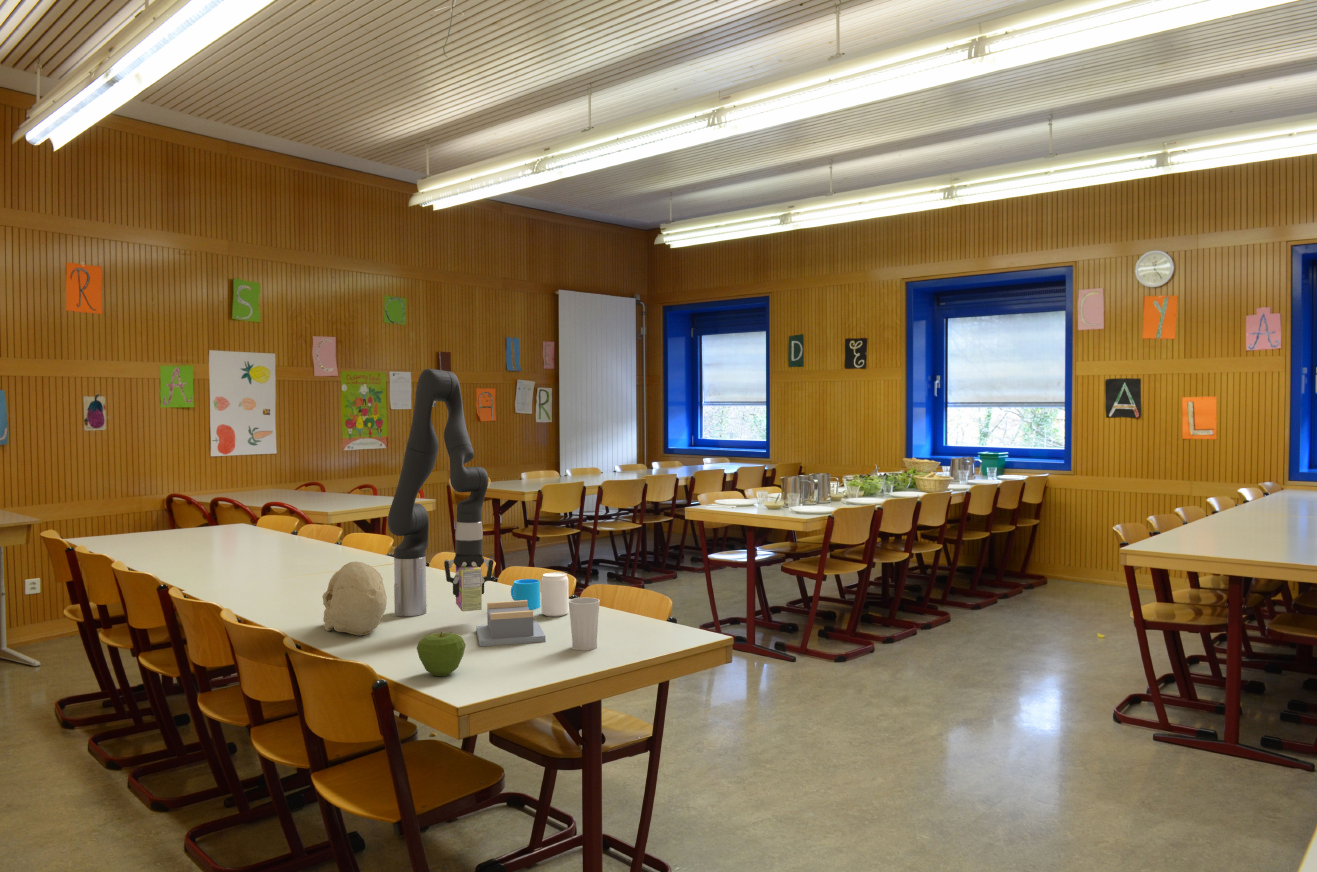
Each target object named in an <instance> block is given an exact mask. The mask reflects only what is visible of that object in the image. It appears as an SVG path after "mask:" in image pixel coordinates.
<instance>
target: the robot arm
mask: <svg viewBox="0 0 1317 872" xmlns="http://www.w3.org/2000/svg"><path fill="white" fill-rule="evenodd" d="M434 402H444V404H445V406H446V409H447V412H448V416H447V421H446V425H445V427H444V431H443V439H444V444H445V447H446V448H445V449H446V451H447V454H448V457H449V469H450V470H449V474H450V475H449V480H450V481H449V482H450V485H451V487H452V488H453V489H452V490H454V491H455V492H456V493H469V496H468V497H467V498H466V499H463V500H460V501H459V502H458V503H457V504H456V524H455V533H454V536H455V542H454V543H455V544H454V545H455V551H454V553H455V556H454V558H453V559H445V560H444V561H443V563H444V564H443V565H444V571H445V578H446V579H445V581H446V582H448V583H452V595H453V596H455V598H456V597H458V583H457V582H458V580H459V571H457V572H456V571H455V575H454V576H451V570H450V569H451V568H452V567H453V564H454V565H455V567H456V566H457V568H458V569H459V567H460V568H462V567H480V568H481V567H482V566H483V564H485V566H486V568H487V569H486V570H487V571H486V575H485V576H483V574H482V595H484V593H485V583H486V582H488V581H489V582H490V581H491V579H492V575H493V574H492V573H493V567H494V560H493V558H489V559H488V558H484V556H483V547H484V546H483V541H484V540H483V539H484V538H483V536H484V533H483V531H484V530H483V518H482V517H483V505H484V502H485V497H486V494H487V490H488V486H489V481H490V480H489V474H488V472H487V470H486V469H485V468H484V467H483V466H482V467H481V466H468V467H467V466H466V467H465V464H467V463H469V462H471V461H472V460H473V459H474V457H475V451H474V448H473V445H472V441H471V439H470V438H471V437H470V435H469V433H468V429H467V425H466V417H465V411H464V404H463V403H464V402H463V397H462V390H461V385H460V381H459V377H458V376H457V375H456V374H455V373H454V372H453V371H449V370H443V369H435V368H426V369H424V370H422V371H421V373H420V374H419V377H418V380H417V384H416V390H415V399H414V404H413V405H414V407H413V414H412V419H411V420H412V421H411V425H410V429H409V435H408V439H407V443H406V447H405V451H404V456H403V462H402V467H401V470H400V473H399V474H400V475H399V479H398V483H397V486H396V490H395V494H394V496H393V499H392V503H391V505H390V508H389V510H388V515H387V526H388V529H389V532H390V533H392V534H393V535H394V536H397V537H403V538H402V541H401V542H400V543H399V544H398V545H397V546H396V547H395V548H394V549H393V550H394V551H393V558H394V559H393V562H394V563H393V565H394V567H393V570H394V573H393V574H394V578H393V579H394V585H393V591H394V592H393V593H394V596H393V598H394V600H393V601H394V616H395V617H415V616H421V615H425V614H426V613H427V605H428V604H427V566H426V563H427V561H426V558H427V557H426V555H427V554H426V552H427V549H428V547H429V546H428V545H429V534H430V533H429V531H430V529H429V527H430V524H429V523H430V521H429V514H428V511H427V509H426V507H425V506H424V505H422V503H421V504H420V503H417V502H416V499H417V497H418V494H419V491H420V489H421V488H422V487H423V485H424V483H426V481H427V480H428V478H429V477H430V475H431V474H432V471H433V470H434V468H435V465H436V463H437V462H436V461H437V458H438V453H439V447H440V445H439V439H438V436H437V433H436V430H435V427H434V423H433V420H432V412H433V405H434Z"/></svg>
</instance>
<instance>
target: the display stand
mask: <svg viewBox="0 0 1317 872" xmlns="http://www.w3.org/2000/svg"><path fill="white" fill-rule="evenodd" d="M486 609H487V612H486V614H487V619H486V620H487V624H483V625H482V624H481V625H475V626H476V629H475V631H476V635H477V639H478V644H479V647H491V646H504V645H514V644H515V645H517V644H530V643H531V644H532V643H545V642H546V640H547V639H546V634H545V632H544V631H543V629H542V627H541V625H540V623H539V621H534V610H529V608H528V601H527V600H520V601H514V600H509V601H508V600H506V601H493V602H492V601H491V602H488V601H487V602H486Z"/></svg>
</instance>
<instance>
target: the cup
mask: <svg viewBox="0 0 1317 872" xmlns="http://www.w3.org/2000/svg"><path fill="white" fill-rule="evenodd" d="M600 602H601V601H600V599H599V598H595V597H577V598H571V599H569V618H570V620H569V621H570V628H571V629H570V630H571V642H572V649H573V650H576V651H591V650H595V649H597V648H598V633H599V631H598V630H599V628H598V627H599V616H600V615H599V614H600V604H601V603H600Z"/></svg>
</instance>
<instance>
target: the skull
mask: <svg viewBox="0 0 1317 872" xmlns="http://www.w3.org/2000/svg"><path fill="white" fill-rule="evenodd" d="M383 580H384V579H383V577H382V575H381V573H380V572H379V571H378V570H377V569H376V568H375V567H374V566H371V565H369V564H367V563H365V562H361V561H351V562H348V563H345V564H344V565H342V567H341V568H340V569H339V570H337V571H336V572H334V574H333V575H332V576H331V578H330V579H329V582H328V585H327V589H326V591H325V592H323V594H322V603H323V604H322V605H323V606H324V608H325V609H324V611H323V618H322V619H323V622H324V628H325V630H326V631H327V632H330V631H332V630H333V628H334V631H336V632H339V633H340V632H341V633H342V632H343V633H344V632H345V633H347V634H350V635H354V636H366V635H370V634H371V633H372V632H373V631H374V630H376V629H377V627H378V626H379V624H380V622H381V620H382V618H383V616H384V614H385V612H386V609H387V603H388V602H387V599H388V596H387V593H386V589H385V584H384V581H383Z"/></svg>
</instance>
